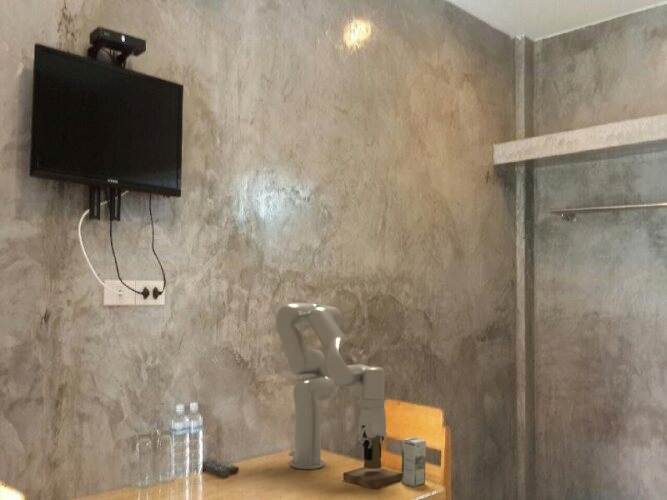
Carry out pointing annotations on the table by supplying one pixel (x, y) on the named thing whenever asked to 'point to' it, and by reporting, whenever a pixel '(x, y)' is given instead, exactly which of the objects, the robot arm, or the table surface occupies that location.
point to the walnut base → (372, 477)
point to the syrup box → (413, 461)
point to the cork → (374, 455)
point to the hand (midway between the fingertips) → (372, 457)
